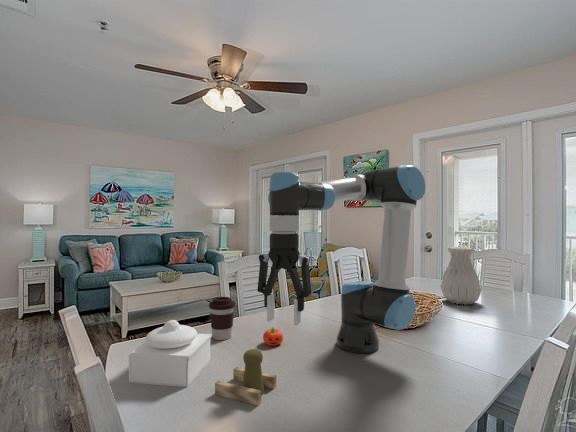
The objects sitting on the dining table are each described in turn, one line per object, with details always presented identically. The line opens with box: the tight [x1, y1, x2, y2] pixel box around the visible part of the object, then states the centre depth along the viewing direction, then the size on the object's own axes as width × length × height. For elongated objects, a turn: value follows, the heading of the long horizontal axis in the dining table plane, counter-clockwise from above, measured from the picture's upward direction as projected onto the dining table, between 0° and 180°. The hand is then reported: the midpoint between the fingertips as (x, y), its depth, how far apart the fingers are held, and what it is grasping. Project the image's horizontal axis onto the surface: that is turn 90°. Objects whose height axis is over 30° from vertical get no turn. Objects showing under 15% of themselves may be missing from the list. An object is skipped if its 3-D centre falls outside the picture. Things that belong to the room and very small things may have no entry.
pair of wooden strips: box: [214, 366, 277, 406], centre depth 92 cm, size 13×10×3 cm
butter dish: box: [128, 319, 213, 388], centre depth 103 cm, size 18×18×16 cm
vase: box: [440, 246, 482, 306], centre depth 186 cm, size 20×20×30 cm
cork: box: [242, 348, 265, 396], centre depth 91 cm, size 6×6×11 cm
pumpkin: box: [262, 326, 284, 347], centre depth 125 cm, size 7×8×6 cm
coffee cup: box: [208, 296, 236, 341], centre depth 132 cm, size 10×10×15 cm
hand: (283, 321), depth 87 cm, fingers open, 7 cm apart
